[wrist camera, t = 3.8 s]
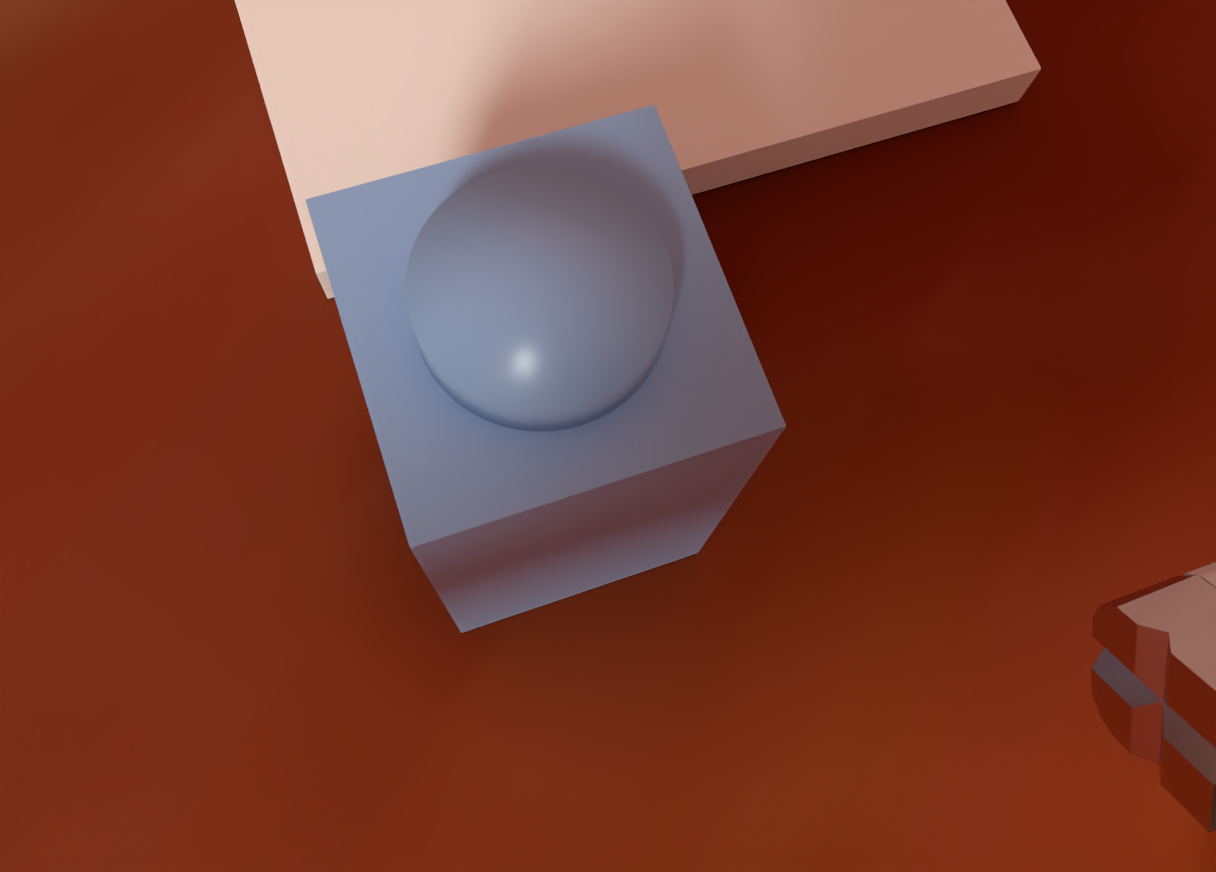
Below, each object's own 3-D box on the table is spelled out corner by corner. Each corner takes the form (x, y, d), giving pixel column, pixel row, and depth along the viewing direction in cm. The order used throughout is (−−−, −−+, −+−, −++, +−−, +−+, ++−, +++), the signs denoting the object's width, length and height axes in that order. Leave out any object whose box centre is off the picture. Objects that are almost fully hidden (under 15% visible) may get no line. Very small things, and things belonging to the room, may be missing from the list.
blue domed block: (461, 632, 21) (401, 533, 12) (390, 404, 22) (291, 166, 13) (698, 553, 21) (800, 405, 13) (616, 335, 23) (660, 68, 14)
